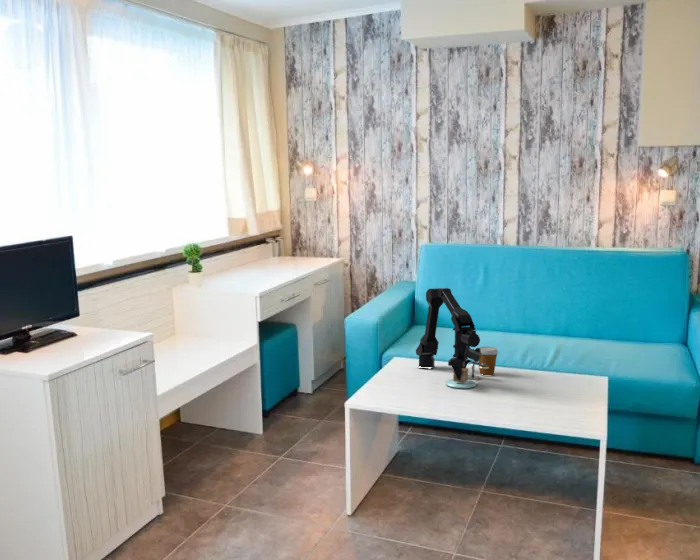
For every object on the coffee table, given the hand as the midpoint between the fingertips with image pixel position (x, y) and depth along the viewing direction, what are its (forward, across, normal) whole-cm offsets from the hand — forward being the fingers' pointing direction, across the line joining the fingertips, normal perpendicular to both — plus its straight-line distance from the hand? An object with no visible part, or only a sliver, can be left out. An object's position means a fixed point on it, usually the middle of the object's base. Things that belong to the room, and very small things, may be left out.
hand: (460, 378), depth 287 cm
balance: (+3, +13, -2) cm, 14 cm away
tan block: (+1, 0, 0) cm, 1 cm away
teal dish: (+3, 0, 0) cm, 3 cm away
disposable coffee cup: (+3, +23, -6) cm, 24 cm away
